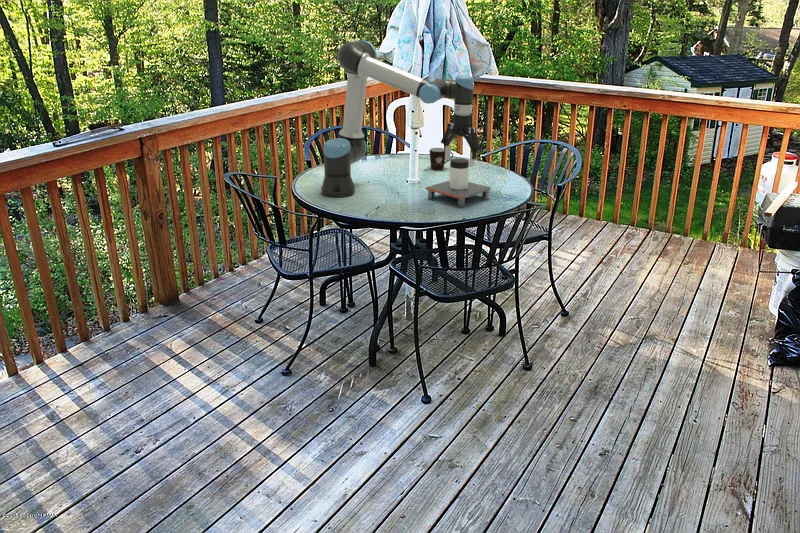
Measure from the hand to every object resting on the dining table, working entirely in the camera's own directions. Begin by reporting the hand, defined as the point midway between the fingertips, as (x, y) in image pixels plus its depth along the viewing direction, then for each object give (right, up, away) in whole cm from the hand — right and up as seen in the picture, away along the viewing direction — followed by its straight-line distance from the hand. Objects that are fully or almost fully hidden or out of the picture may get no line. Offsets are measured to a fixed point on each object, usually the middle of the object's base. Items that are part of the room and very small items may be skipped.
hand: (459, 163), depth 286 cm
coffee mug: (-5, +5, +52) cm, 52 cm away
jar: (0, -10, +4) cm, 11 cm away
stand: (0, -14, +6) cm, 16 cm away
